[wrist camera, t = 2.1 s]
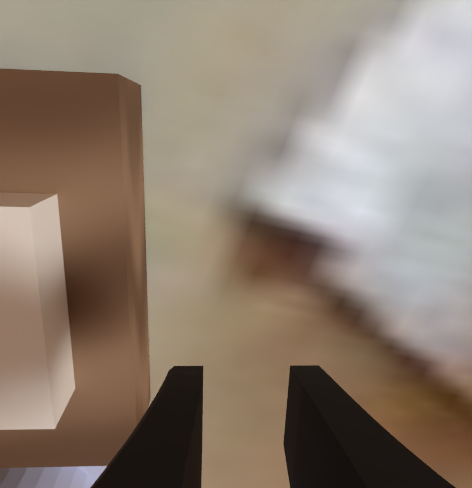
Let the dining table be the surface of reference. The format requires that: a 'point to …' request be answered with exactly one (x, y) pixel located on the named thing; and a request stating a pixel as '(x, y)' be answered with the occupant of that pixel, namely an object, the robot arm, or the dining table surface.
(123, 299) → the riser
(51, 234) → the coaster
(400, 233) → the dining table surface
